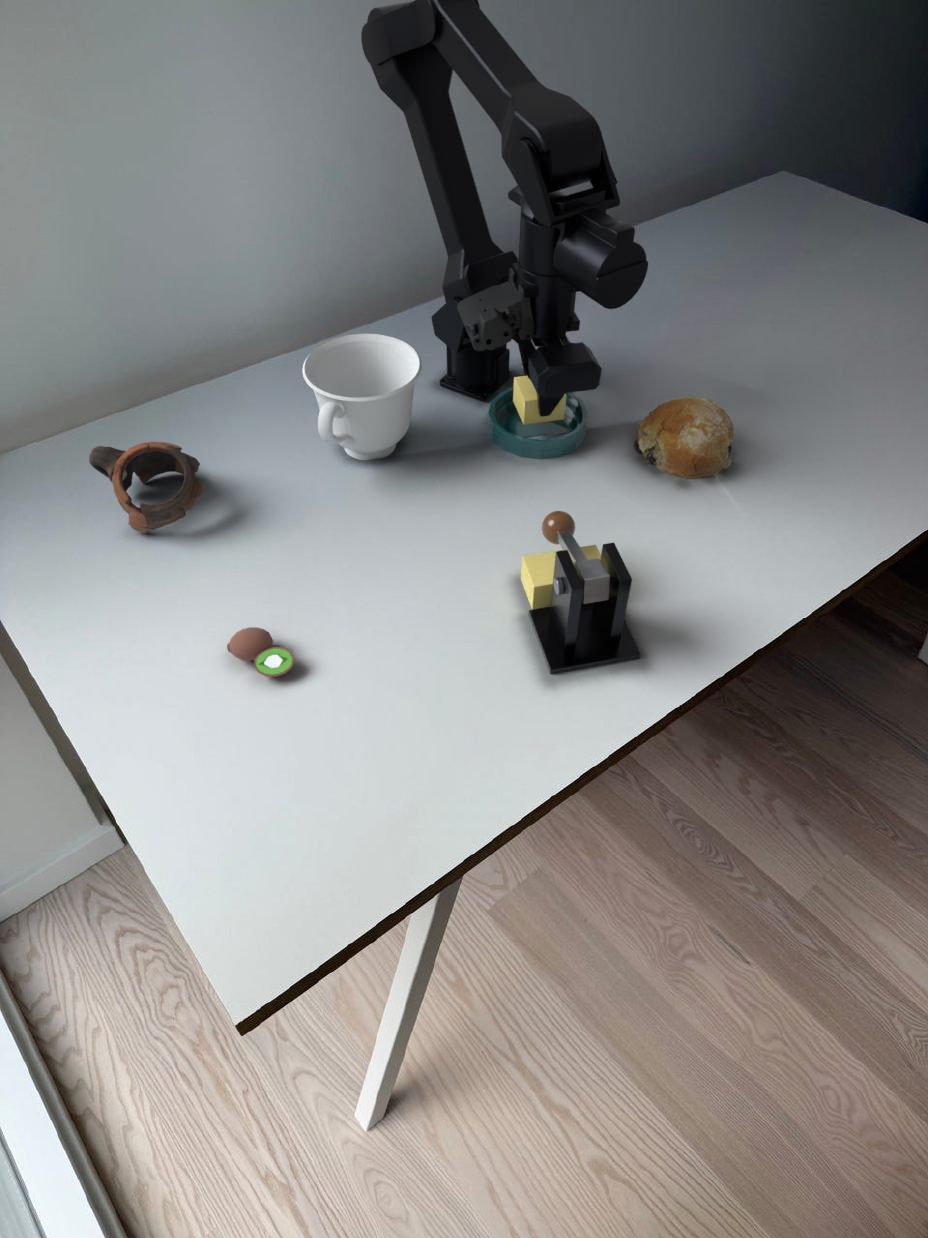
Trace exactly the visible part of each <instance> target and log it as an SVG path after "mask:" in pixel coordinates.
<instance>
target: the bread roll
mask: <svg viewBox="0 0 928 1238" xmlns="http://www.w3.org/2000/svg"><path fill="white" fill-rule="evenodd" d="M637 429H638V431H637V437H636V439H635V440H634V441H633V449H634V451H635V452H636V453H637V454H639V455H642V456H643V457H644V458H645V462H646V464H649V465H652V466H655V467H656V469H658V471H660V472H663V473H665V474H669V475H672V476H675V477H679V478H683V479H698V478H704V477H710V476H715V475H717V474H719V473H720V472H721V471H723V470H728V468H729V467H730V466H731V464H732V459H731V458H729V456H730V455H729V454H731V453H732V449H733V448H732V444H733V441H734V436H735V435H734V425H733V421H732V419H731V417H730V415H729V414H728V413H727V411H726V410H725V409H724V408H723V407H722V406H721V405H719V404H717V403H714V401H713V400H712V399H711V398H709V397H694V396H690V397H689V396H685V397H680V398H679V397H678V398H674V399H672V400H669V401H666V402H663V403H660V404H659V405H657V406H656V407H655V408H654V409H653V410H651V411H649V412H648V415H647V416H645V418H644V419H642V420H640V421H639V422H638V423H637Z"/></svg>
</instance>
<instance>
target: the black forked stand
mask: <svg viewBox="0 0 928 1238" xmlns="http://www.w3.org/2000/svg"><path fill="white" fill-rule="evenodd" d="M562 550H563V549H562ZM556 551H557V552H556V556H555V566H554V575H553V585H552V595H551V604H550V607H544V608H538V609H528V612H527V613H528V614H527V615H528V618H529V621H530V623H531V626H532V628H533V631H534V634H535V637H536V640H537V643H538V645H539V649H540V651H541V653H542V657H543V659H544V662H545V664H546V667H547V670H548V673H549V675H556V674H562V673H567V672H572V671H578V670H585V669H589V668H595V667H601V666H606V665H612V664H617V663H623V662H629V661H633V660H639V659H641V655H642V653H641V651H640V649H639V647H638V645H637V643H636V641H635V638H634V636H633V633H632V632H631V629H630V627H629V625H628V623H627V621H626V612H627V608H628V607H627V606H628V603H629V597H630V592H631V586H632V582H633V577H632V576H631V574H630V571H629V569H628V568H627V566H626V563H625V562H624V560H623V558H622V555H621V553H620V552H619V550H618V547H617V546H616V544H615V542H609V543H608V542H607V543H603V544H602V547H601V553H600V555H601V560H600V561H601V562H602V564H603V565H604V567H605V569H606V570H607V572H608V573H609V575H610V587H609V600H605V601H599V602H593V603H587V604H583V602H582V596H583V589H584V587H583V585H582V582H581V580H580V578H579V575H578V573H577V571H576V568H575V566H574V564H573V562H572V559H571V557H570V555H569V552H568V550H563V551H558V550H556Z"/></svg>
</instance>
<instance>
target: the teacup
mask: <svg viewBox="0 0 928 1238" xmlns="http://www.w3.org/2000/svg"><path fill="white" fill-rule="evenodd" d="M422 369H423V363H422V359H421V356H420V355H419V353H418V352H417V350H415V349H414V348H413V346H411V345H410V344H408V343H406V342H405V341H403V340H401V339H399V338H396V337H392V336H389V335H385V334H384V335H383V334H378V333H355V334H349V335H348V334H347V335H344V336H340V337H339V336H338V337H336V338H333V339H330V340H328V341H326V342H324V343H322V344H320V345H319V346H317V347H316V348H314V349H313V350H312V351H311V352H310V353H308V355H307V357H306V359H305V360H304V362H303V364H302V371H301V372H302V376H303V379H304V381H305V383H306V384H307V386H309V387H310V388H311V389H312V390H313V392H314V395H315V398H316V402H317V405H318V408H319V409H318V410H319V414H318V418H317V428H318V429H317V430H318V434H319V436H320V438H321V439H322V440H323V441H324V442H325V443H328V444H330V445H339V446H341V448H343V449H344V451H345V453H346V454H347V455H348V456H349V457H351V458H353V459H356V460H358V461H370V460H378V459H383V458H387V457H388V456H390V455H391V454H392V453H394V451H395V449H396V448H397V443H398V442H400V441H401V440H402V439H403V438H404V437H405V435H406V434H407V432H408V429H409V426H410V424H411V419H412V412H413V401H414V390H415V389H414V388H415V382H416V381H417V380H418V379H419V377H420V376H421V373H422Z"/></svg>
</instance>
